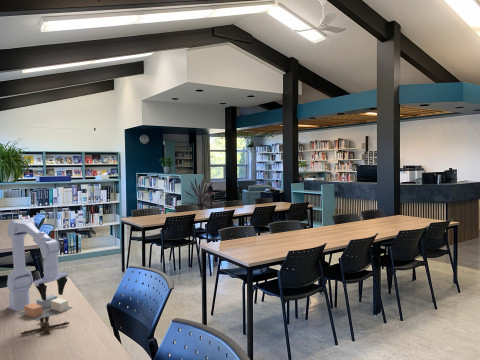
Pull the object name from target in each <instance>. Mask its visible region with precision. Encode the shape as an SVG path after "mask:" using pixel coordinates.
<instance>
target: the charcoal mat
mask: <svg viewBox="0 0 480 360" xmlns="http://www.w3.org/2000/svg"><path fill="white" fill-rule="evenodd" d="M71 309H73V307H71V306H69V305H68V309H67V310H64V311H62V312H59V311H56V310H54V309H51V306H50V307H47V308H45V309H42V313H43V315H40V316H37V317H35V318H33V317H31V316H28V315H25V311H24V310H22V311H21V312H18V313H17V314H19V315H21V316H24V317H26V318H29V319H32V320H33V321H37V322H40V318H41V317H42V318H43V317H44V319H45V317H46V316H47V317H48V316H49V318H50V317H51V316H52V317H53V316H55V315H58V314H60V313H63V312H66V311H68V310H71Z"/></svg>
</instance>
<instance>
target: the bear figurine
mask: <svg viewBox="0 0 480 360" xmlns="http://www.w3.org/2000/svg"><path fill="white" fill-rule="evenodd" d="M49 320H50V317H49V316H48V317H47V316H46V317H45V318H44V317H43V318H42V317H41V318H40V320H39V323H40V326H41V327H39V328H38V327H37V328H35V329H31V330H24V331H23V332H20V335H22V336H23V335H27V334H32V333H35V332H37V333H38V332H39V334H40V335H43V334H44V335H48V334H49V333H51V332H53V331H54V330H53V329H54V328H58V327H63V326H67V325H70V322H69V321H65V322H62V323H58V324H53V325H52V324H51V325H50V323H49Z"/></svg>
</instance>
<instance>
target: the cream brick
mask: <svg viewBox="0 0 480 360" xmlns="http://www.w3.org/2000/svg"><path fill="white" fill-rule="evenodd" d="M68 306H69V300H66V299H63V298H60V297H57V299H54V300H51V309H54V310H56V311H59V312H60V313H63V312H65V311H64V310H66V311H68V310H67V309H68ZM62 311H63V312H62Z"/></svg>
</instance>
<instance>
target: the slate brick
mask: <svg viewBox="0 0 480 360" xmlns="http://www.w3.org/2000/svg"><path fill="white" fill-rule="evenodd" d="M57 298H58V296H57V295H55V294H51V295H46V300H45V301H44V300H42V298H39V299H36V304H38V305H40V306H42V309H45V308H47V307H50V306H51V300H54V299H57Z"/></svg>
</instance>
